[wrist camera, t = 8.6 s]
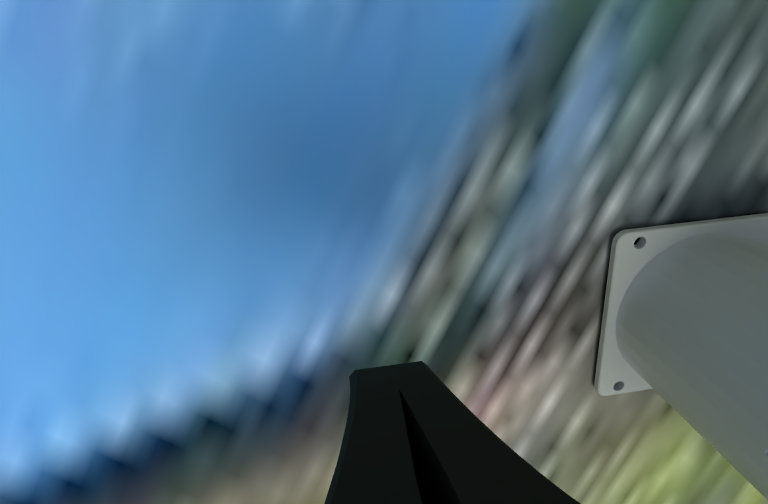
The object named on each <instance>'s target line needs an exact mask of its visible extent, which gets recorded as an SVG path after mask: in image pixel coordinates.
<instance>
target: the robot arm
mask: <svg viewBox="0 0 768 504" xmlns="http://www.w3.org/2000/svg"><path fill="white" fill-rule="evenodd" d="M639 237H640V240H639V242H638V243H637V244H636V245H634V242H635V240H636V239H637V238H639ZM349 378H350V403H349V411H348V417H347V423H346V428H345V432H344V436H343V441H342V445H341V450H340V454H339V458H338V462H337V465H336V468H335V472H334V475H333V478H332V481H331V485H330V488H329V491H328V494H327V497H326V501H325V504H580V503H579V502H577V501H576V500H575V499H573V498H572V497H570V496H569V495H568V494H566V493H565V492H564V491H562V490H561V489H560V488H559V487H557V486H556V485H555V484H553V483H552V482H551V481H550V480H548V479H547V478H546V477H544V476H543V475H542V474H541V473H539V472H538V471H537V470H536V469H535V468H533V467H532V466H531V465H530V464H529V463H527V462H526V461H525V460H524V459H523V458H521V457H520V456H519V455H518V454H517V453H515V452H514V451H513V450H512V449H511V448H510V447H509V446H507V445H506V444H505V443H504V442H503V441H502V440H501V439H500V438H499V437H497V436H496V435H495V434H494V433H493V432H492V431H491V430H490V429H489V428H488V427H487V426H486V425H485V424H484V423H482V422H481V421H480V420H479V419H478V418H477V417H476V416H475V415H474V414H473V413H472V412H471V411H470V410H469V409H468V408H467V407H466V406H465V405H464V404H463V403H462V402H461V401H460V400H459V399H458V398H457V397H456V396H455V395H454V394H453V393H452V392H451V391H450V390H449V389H448V388H447V387H446V386H445V384H444V383H443V382H442V381H441V380H440V379H439V378H438V377H437V376H436V375H435V374H434V373H433V371H432V370H431V369H430V368H429V367H428V366H427V365H426V364H425V363H423V362H422V361H419V362H412V363H404V364H397V365H390V366H382V367H375V368H368V369H360V370H355V371H354V372H353V373H352V374H351V375H350V376H349ZM617 382H618V383H617ZM615 383H617V384H616V385H614V384H615ZM594 387H595V389H596V391H597V392H598V393H599V394H600V395H602V396H610V395H616V394H622V393H629V392H635V391H641V390H647V389H654V390H655V391H656V392H657V393H658V394H659V395H660V396H661V397H662V398H663V399H664V400H665V401H666V402H667V403H668V404H669V405H670V406H671V407H672V408H674V409H675V410H676V411H677V412H678V413H679V414H680V415H681V416H682V417H683V418H684V419H685V420H686V421H687V422H688V423H689V424H690V425H691V426H692V427H693V428H694V429H695V430H696V431H697V432H698V433H699V434H700V435H701V436H702V437H703V438H704V439H705V440H706V441H707V442H709V443H710V444H711V445H712V446H713V447H714V448H715V449H716V450H717V451H718V452H719V453H720V454H721V455H722V456H723V457H724V458H725V459H726V460H727V461H728V462H729V463H730V464H731V465H732V466H733V467H734V468H735V469H736V470H737V471H738V472H739V473H740V474H741V475H743V476H744V477H745V478H746V479H747V480H748V481H749V482H750V483H751V484H752V485H753V486H754V487H755V488H756V489H757V490H758V491H759V492H760V493H761V494H762V495H763V496H764V497H765V498H766V499H767V500H768V213H763V214H754V215H746V216H737V217H729V218H720V219H711V220H703V221H694V222H686V223H677V224H669V225H660V226H651V227H643V228H634V229H626V230H622V231H620V232H618V233H617V234H616V235H615V237H614V238H613V241H612V246H611V254H610V262H609V270H608V278H607V286H606V294H605V302H604V310H603V318H602V326H601V334H600V342H599V350H598V358H597V366H596V374H595V382H594Z"/></svg>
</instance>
